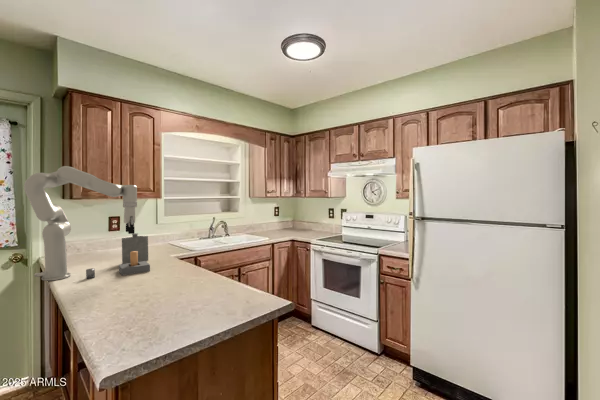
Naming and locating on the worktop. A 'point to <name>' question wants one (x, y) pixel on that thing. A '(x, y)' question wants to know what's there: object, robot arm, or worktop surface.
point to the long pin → (134, 258)
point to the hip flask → (135, 247)
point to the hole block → (134, 268)
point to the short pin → (90, 273)
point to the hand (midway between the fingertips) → (130, 232)
